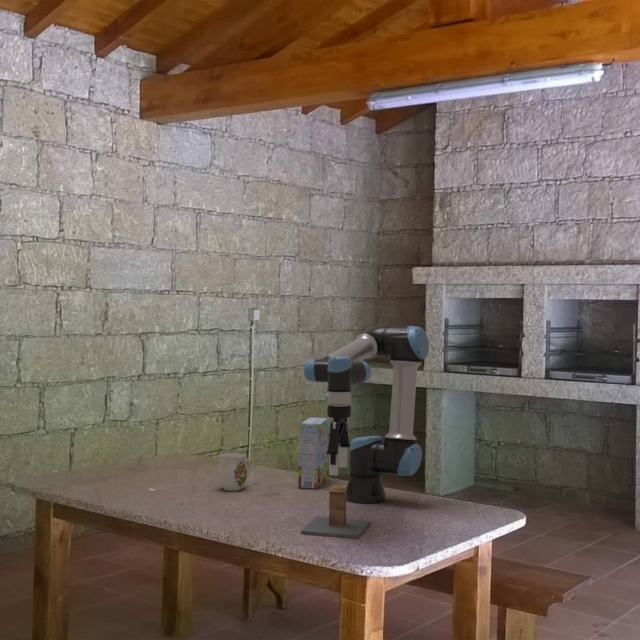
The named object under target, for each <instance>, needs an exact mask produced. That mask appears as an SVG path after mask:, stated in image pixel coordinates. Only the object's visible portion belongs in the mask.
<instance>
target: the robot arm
mask: <svg viewBox="0 0 640 640" xmlns="http://www.w3.org/2000/svg"><path fill="white" fill-rule="evenodd" d="M429 351H430V342H429V339H428V335H427V333H426V330H424V329H423V328H422V327H419V326H415V325H380V326H377V327H374V328H370V329H369V330H367V331H364V332H362V333H361V334H359V335H357V336H356V337H355V339H354V340H353V341H352V342H350V343H347V344H346V345H344V346H342V347H341V348H339V349H337V350H334V351H333V352H331V353H329V354H327V355H326V356H324V357H322V358H319V359H317V358H313V359H312V358H311V359H308V360H307V361H306V362H305V363H304V368H303V374H304V377H305V379H306V380H307V381H309V382H314V383H327V393H326V395H325V397H326V398H327V404H328V405H327V407H326V408H327V409H326V410H327V417H328V418H331V419H332V418H333V420H332V421H331V422H330V424H329V425H330V427H329V428H330V429H329V435H328V436H329V438H328V444H327V455H329V459H328V460H329V462H328V465H329V466H328V468H329V470H328V471H329V472H328V475H330V476H338V475H339V468H346V469H347V468H348V448H349V480H348V482H347V484H346V485H347V486H346V501H347V502H352V503H357V504H358V503H360V504H375V503H377V504H378V503H382V502H385V501H386V498H387V497H386V495H387V494H386V490H385V487H384V484H383V480H382V474H385V475H386V474H388V475H395V476H399V477H403V476H406V477H410V476H413V475H415V473H416V472H417V471H418V469H419V468H420V465H421V462H422V458H423V457H422V456H423V450H422V447H421V445H420V444H418V443H417V442H418V441H417V440H418V439H417V437H416V436H415V435H414V421H415V405H416V394H417V393H416V391H417V390H416V389H417V377H418V376H417V374H418V368H419V367H420V366H421V365H422V364H423V360H424V359H426V358H427V356H428V353H429ZM375 357H384V358H385V357H386V358H389V363H390V364H391V365H392V367H393V373H392V386H391V400H390V401H391V403H390V416H389V431H388V433H387V434H386V435H384V439H383V437H382V436H380V435H369V436H367V435H366V436H360V437H355V438H353V439H352V440H351V441H350V440H349V429H348V418H350V417H351V416H352V406H351V405H352V385H361V384H363V383H366V382H368V381H369V379H370V377H371V375H372V371H371V366H370V365H369V364H368V362H366V361H364V360H365V359H366V360H369V359H373V358H375Z"/></svg>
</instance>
